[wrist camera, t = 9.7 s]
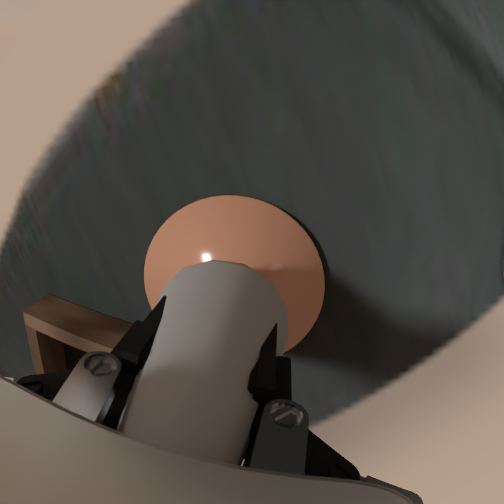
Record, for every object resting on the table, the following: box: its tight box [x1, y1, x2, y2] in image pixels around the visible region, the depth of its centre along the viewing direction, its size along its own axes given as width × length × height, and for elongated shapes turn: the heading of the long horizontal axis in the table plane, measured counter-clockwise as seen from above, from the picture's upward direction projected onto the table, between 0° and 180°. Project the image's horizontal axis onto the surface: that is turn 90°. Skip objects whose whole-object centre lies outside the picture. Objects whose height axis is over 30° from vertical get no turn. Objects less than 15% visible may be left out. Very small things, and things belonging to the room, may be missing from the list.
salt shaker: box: [117, 260, 289, 466], centre depth 9 cm, size 6×6×13 cm
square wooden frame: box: [23, 294, 133, 375], centre depth 19 cm, size 10×10×3 cm
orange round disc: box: [144, 195, 325, 353], centre depth 17 cm, size 10×10×1 cm
